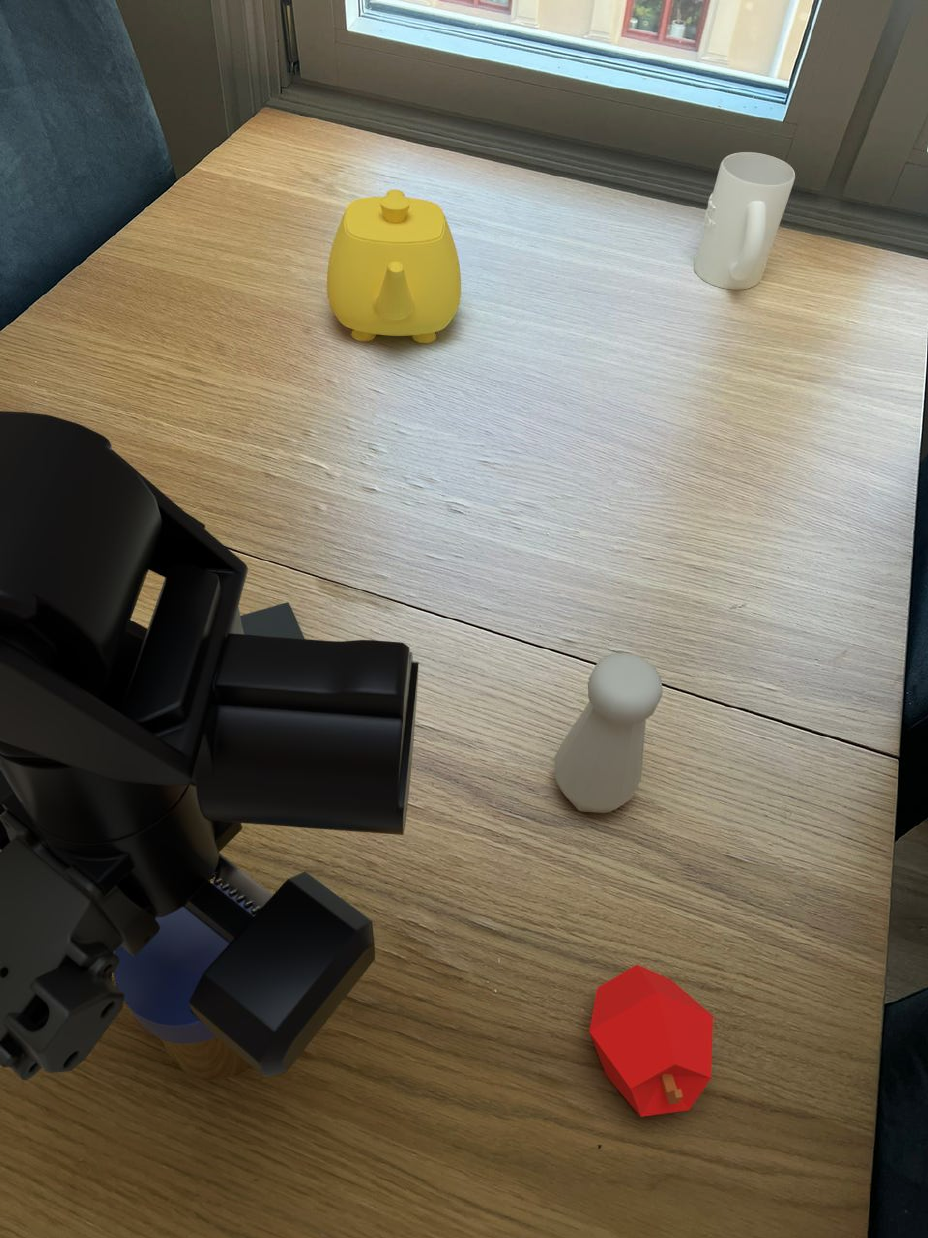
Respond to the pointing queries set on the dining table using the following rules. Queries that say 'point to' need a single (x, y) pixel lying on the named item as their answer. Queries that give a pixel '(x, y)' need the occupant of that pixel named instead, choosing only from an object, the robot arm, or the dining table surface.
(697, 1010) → the apple
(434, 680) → the dining table surface
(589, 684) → the salt shaker
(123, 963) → the jar lid
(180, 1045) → the jam jar
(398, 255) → the teapot
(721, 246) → the mug
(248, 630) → the mat
